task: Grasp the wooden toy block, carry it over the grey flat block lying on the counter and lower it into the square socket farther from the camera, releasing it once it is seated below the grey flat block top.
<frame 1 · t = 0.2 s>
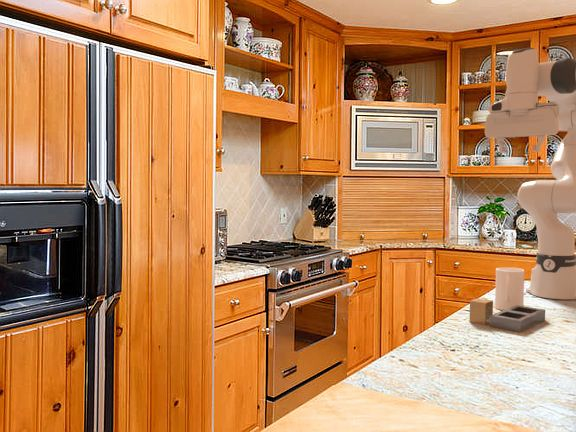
hand: (519, 152, 161), 47 cm above the counter, fingers open, 8 cm apart
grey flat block: (518, 323, 150), on the counter
mug: (508, 309, 167), on the counter
wooden toy block: (480, 322, 152), on the counter
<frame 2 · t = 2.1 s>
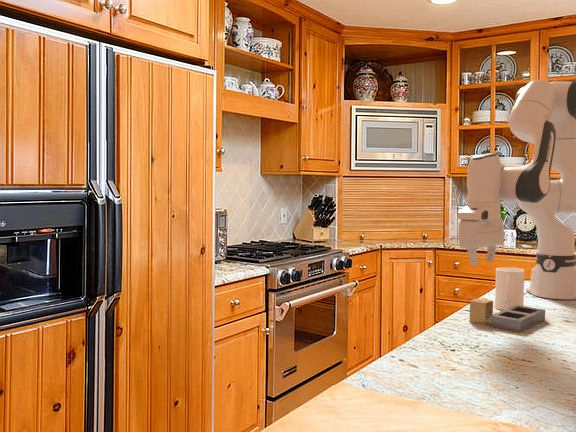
hand: (481, 263, 151), 16 cm above the counter, fingers open, 8 cm apart
nothing on the counter moved.
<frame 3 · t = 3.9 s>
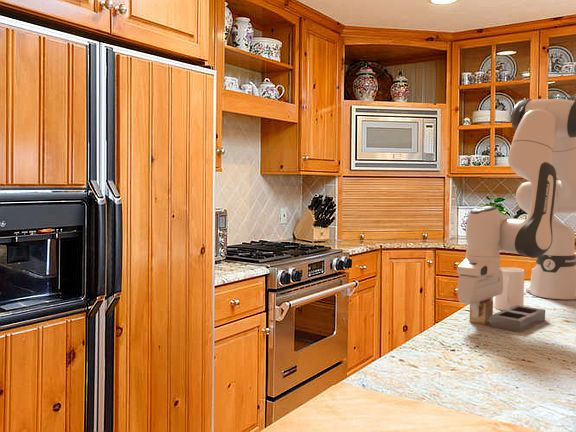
hand: (481, 315, 152), 2 cm above the counter, fingers closed on wooden toy block, 4 cm apart
wooden toy block: (481, 321, 152), on the counter, touching gripper
everything else where it was.
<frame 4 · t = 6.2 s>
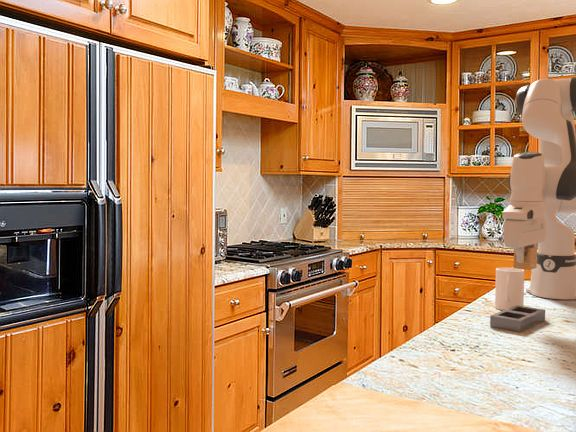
hand: (525, 261, 152), 17 cm above the counter, fingers closed on wooden toy block, 4 cm apart
wooden toy block: (525, 268, 152), point 15 cm above the counter, touching gripper
everything else where it was.
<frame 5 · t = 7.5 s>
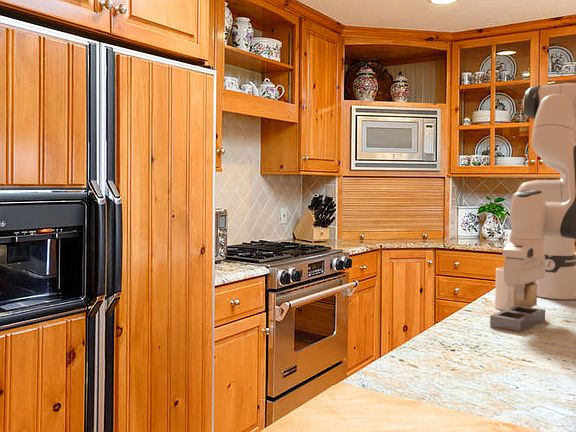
hand: (525, 298, 153), 6 cm above the counter, fingers closed on wooden toy block, 4 cm apart
wooden toy block: (525, 305, 153), point 4 cm above the counter, touching gripper
everything else where it was.
when the fingers open (4 cm above the counter, at t = 8.4 s): wooden toy block drops 2 cm, resting in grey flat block.
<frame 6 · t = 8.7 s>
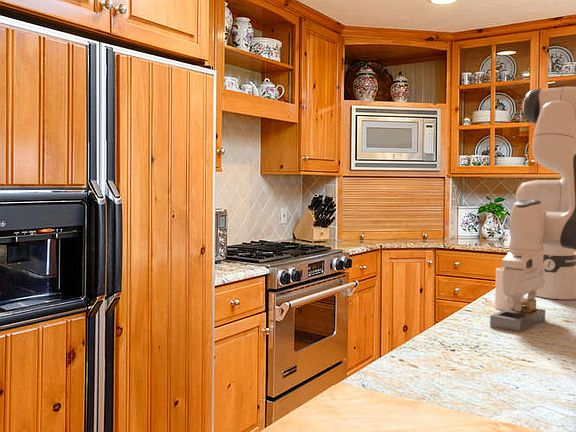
hand: (524, 308, 153), 4 cm above the counter, fingers open, 7 cm apart
wooden toy block: (524, 321, 153), resting in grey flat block
everything else where it was.
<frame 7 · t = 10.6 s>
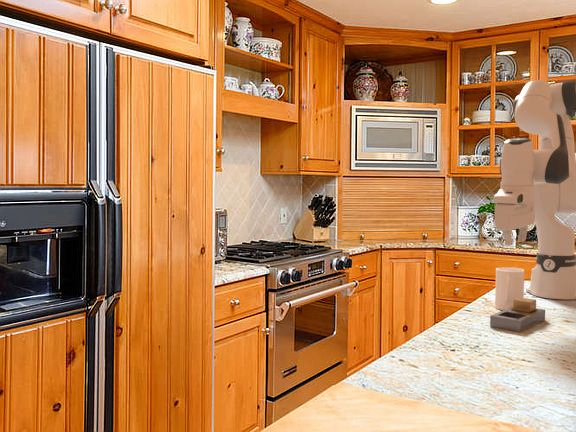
hand: (515, 243, 158), 21 cm above the counter, fingers open, 8 cm apart
nothing on the counter moved.
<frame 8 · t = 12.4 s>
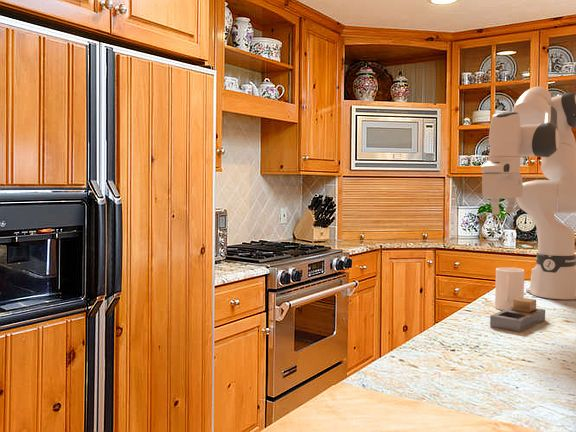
hand: (503, 213, 164), 29 cm above the counter, fingers open, 8 cm apart
nothing on the counter moved.
at the end: wooden toy block 0.1 cm from the target spot on the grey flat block, point 0.0 cm above the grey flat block's base; wooden toy block tilted 0°; the gripper is holding nothing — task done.
